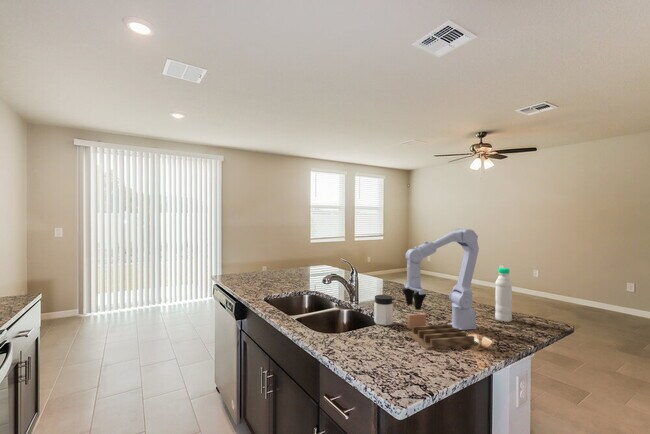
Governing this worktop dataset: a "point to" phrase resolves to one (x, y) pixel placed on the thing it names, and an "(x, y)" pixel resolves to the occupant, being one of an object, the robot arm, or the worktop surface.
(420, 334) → the rack
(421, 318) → the tile
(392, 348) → the worktop surface
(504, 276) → the water bottle
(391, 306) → the jar
